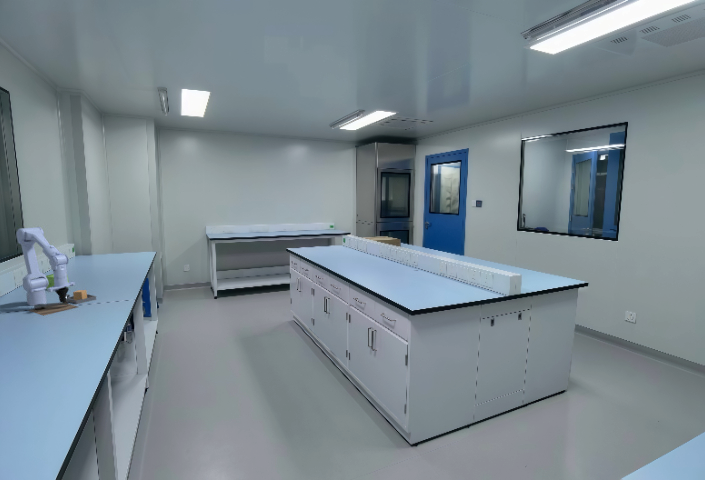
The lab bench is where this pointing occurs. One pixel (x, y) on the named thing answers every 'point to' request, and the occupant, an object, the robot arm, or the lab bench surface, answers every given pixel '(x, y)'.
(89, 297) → the tray
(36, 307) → the crank
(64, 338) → the lab bench surface
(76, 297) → the stop block
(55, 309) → the crank board
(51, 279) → the green rough block
